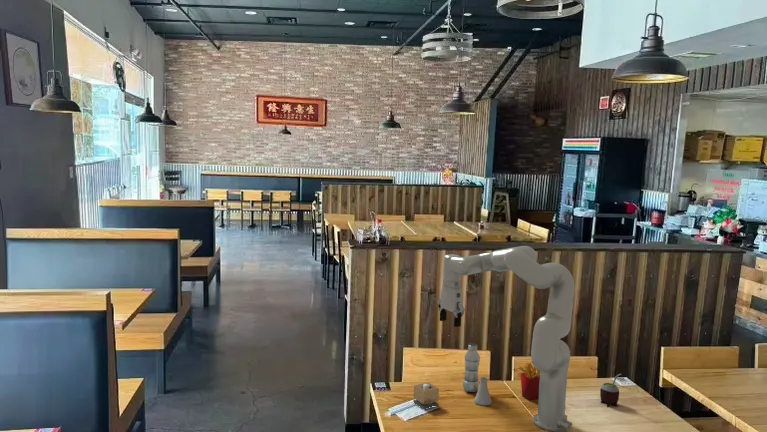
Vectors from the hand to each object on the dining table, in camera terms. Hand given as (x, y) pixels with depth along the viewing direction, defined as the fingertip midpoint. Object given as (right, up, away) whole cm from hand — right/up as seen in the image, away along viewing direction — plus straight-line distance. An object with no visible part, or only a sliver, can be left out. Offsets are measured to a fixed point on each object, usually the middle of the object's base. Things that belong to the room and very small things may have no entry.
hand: (449, 323), depth 224 cm
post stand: (-12, -29, -15) cm, 35 cm away
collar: (-11, -27, -15) cm, 33 cm away
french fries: (+32, -30, -5) cm, 44 cm away
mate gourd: (+64, -31, -10) cm, 72 cm away
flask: (+12, -30, -11) cm, 34 cm away
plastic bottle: (+9, -29, 0) cm, 30 cm away
